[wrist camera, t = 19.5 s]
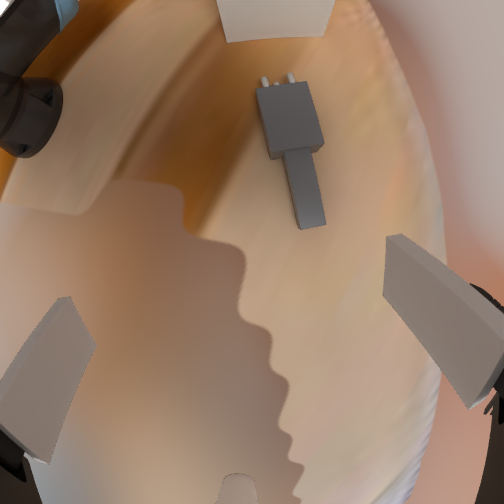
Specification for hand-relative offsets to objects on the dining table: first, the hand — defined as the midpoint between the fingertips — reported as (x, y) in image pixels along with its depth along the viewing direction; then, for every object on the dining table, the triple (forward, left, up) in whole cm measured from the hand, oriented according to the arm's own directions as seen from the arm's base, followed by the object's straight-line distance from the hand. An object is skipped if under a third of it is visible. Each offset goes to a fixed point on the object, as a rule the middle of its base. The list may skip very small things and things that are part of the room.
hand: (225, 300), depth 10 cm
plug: (-1, +11, -25) cm, 28 cm away
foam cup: (+25, -43, -25) cm, 56 cm away
